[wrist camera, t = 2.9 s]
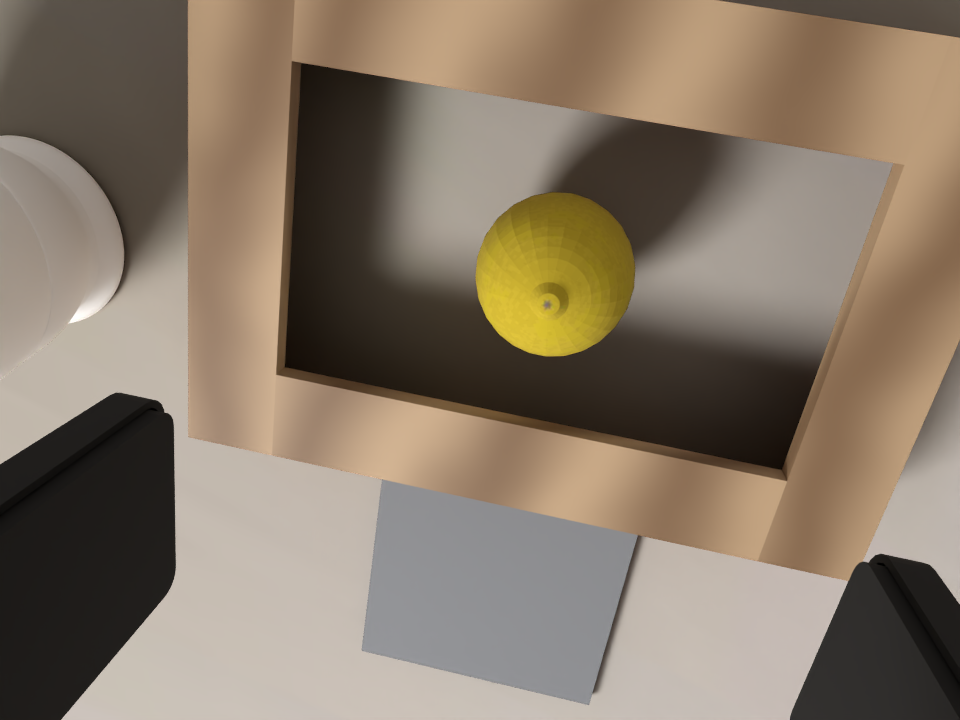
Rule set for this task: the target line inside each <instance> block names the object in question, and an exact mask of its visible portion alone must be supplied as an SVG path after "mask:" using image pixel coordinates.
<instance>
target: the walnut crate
mask: <svg viewBox="0 0 960 720" xmlns="http://www.w3.org/2000/svg"><path fill="white" fill-rule="evenodd" d="M301 63H306V64H312V65H318V66H324V67H330V68H336V69H342V70H347V71H353V72H359V73H365V74H371V75H377V76H383V77H389V78H395V79H400V80H406V81H412V82H418V83H424V84H430V85H436V86H442V87H448V88H454V89H459V90H465V91H471V92H477V93H483V94H489V95H495V96H501V97H507V98H513V99H518V100H524V101H530V102H536V103H542V104H548V105H554V106H560V107H566V108H571V109H577V110H583V111H589V112H595V113H601V114H607V115H613V116H619V117H625V118H630V119H636V120H642V121H648V122H654V123H660V124H666V125H672V126H678V127H683V128H689V129H695V130H701V131H707V132H713V133H719V134H725V135H731V136H737V137H742V138H748V139H754V140H760V141H766V142H772V143H778V144H784V145H790V146H796V147H801V148H807V149H813V150H819V151H825V152H831V153H837V154H843V155H849V156H854V157H860V158H866V159H872V160H878V161H884V162H890V163H894V164H893V166H892V169H891V172H890V175H889V177H888V180H887V183H886V186H885V188H884V191H883V194H882V196H881V199H880V202H879V205H878V207H877V210H876V213H875V216H874V218H873V221H872V224H871V227H870V229H869V232H868V235H867V238H866V240H865V243H864V246H863V249H862V251H861V254H860V257H859V259H858V262H857V265H856V268H855V270H854V273H853V276H852V279H851V281H850V284H849V287H848V290H847V292H846V295H845V298H844V301H843V303H842V306H841V309H840V312H839V314H838V317H837V320H836V323H835V325H834V328H833V331H832V333H831V336H830V339H829V342H828V344H827V347H826V350H825V353H824V355H823V358H822V361H821V364H820V366H819V369H818V372H817V375H816V377H815V380H814V383H813V386H812V388H811V391H810V394H809V396H808V399H807V402H806V405H805V407H804V410H803V413H802V416H801V418H800V421H799V424H798V427H797V429H796V432H795V435H794V438H793V440H792V443H791V446H790V449H789V451H788V454H787V457H786V460H785V462H784V465H783V468H782V470H779V469H774V468H769V467H764V466H759V465H755V464H750V463H745V462H740V461H735V460H730V459H726V458H721V457H716V456H711V455H706V454H701V453H697V452H692V451H687V450H682V449H677V448H672V447H668V446H663V445H658V444H653V443H648V442H644V441H639V440H634V439H629V438H624V437H619V436H615V435H610V434H605V433H600V432H595V431H590V430H586V429H581V428H576V427H571V426H566V425H561V424H557V423H552V422H547V421H542V420H537V419H532V418H528V417H523V416H518V415H513V414H508V413H503V412H499V411H494V410H489V409H484V408H479V407H474V406H470V405H465V404H460V403H455V402H450V401H445V400H441V399H436V398H431V397H426V396H421V395H416V394H412V393H407V392H402V391H397V390H392V389H387V388H383V387H378V386H373V385H368V384H363V383H358V382H354V381H349V380H344V379H339V378H334V377H329V376H325V375H320V374H315V373H310V372H305V371H300V370H296V369H291V368H286V367H285V351H286V333H287V315H288V296H289V278H290V260H291V242H292V223H293V205H294V187H295V169H296V150H297V132H298V114H299V96H300V77H301ZM959 341H960V38H958V37H952V36H945V35H939V34H932V33H926V32H919V31H913V30H907V29H900V28H894V27H887V26H881V25H874V24H868V23H861V22H855V21H848V20H842V19H835V18H829V17H822V16H816V15H809V14H803V13H796V12H790V11H783V10H777V9H770V8H764V7H757V6H751V5H744V4H738V3H732V2H725V1H719V0H188V437H190V438H195V439H199V440H204V441H208V442H213V443H218V444H222V445H227V446H231V447H236V448H241V449H245V450H250V451H254V452H259V453H263V454H268V455H273V456H277V457H282V458H286V459H291V460H296V461H300V462H305V463H309V464H314V465H319V466H323V467H328V468H332V469H337V470H341V471H346V472H351V473H355V474H360V475H364V476H369V477H374V478H378V479H383V480H387V481H392V482H397V483H401V484H406V485H410V486H415V487H419V488H424V489H429V490H433V491H438V492H442V493H447V494H452V495H456V496H461V497H465V498H470V499H475V500H479V501H484V502H488V503H493V504H497V505H502V506H507V507H511V508H516V509H520V510H525V511H530V512H534V513H539V514H543V515H548V516H553V517H557V518H562V519H566V520H571V521H575V522H580V523H585V524H589V525H594V526H598V527H603V528H608V529H612V530H617V531H621V532H626V533H631V534H635V535H640V536H644V537H649V538H653V539H658V540H663V541H667V542H672V543H676V544H681V545H686V546H690V547H695V548H699V549H704V550H709V551H713V552H718V553H722V554H727V555H731V556H736V557H741V558H745V559H750V560H754V561H759V562H764V563H768V564H773V565H777V566H782V567H787V568H791V569H796V570H800V571H805V572H809V573H814V574H819V575H823V576H828V577H832V578H837V579H842V580H846V581H849V579H850V577H851V574H852V572H853V570H854V568H855V567H856V565H858V564H859V563H860V562H862V561H863V559H864V557H865V555H866V552H867V550H868V548H869V545H870V543H871V541H872V539H873V536H874V534H875V532H876V530H877V527H878V525H879V523H880V520H881V518H882V516H883V514H884V511H885V509H886V507H887V505H888V502H889V500H890V498H891V495H892V493H893V491H894V489H895V486H896V484H897V482H898V479H899V477H900V475H901V473H902V470H903V468H904V466H905V464H906V461H907V459H908V457H909V454H910V452H911V450H912V448H913V445H914V443H915V441H916V439H917V436H918V434H919V432H920V429H921V427H922V425H923V423H924V420H925V418H926V416H927V414H928V411H929V409H930V407H931V404H932V402H933V400H934V398H935V395H936V393H937V391H938V389H939V386H940V384H941V382H942V379H943V377H944V375H945V373H946V370H947V368H948V366H949V363H950V361H951V359H952V357H953V354H954V352H955V350H956V348H957V345H958V343H959Z"/></svg>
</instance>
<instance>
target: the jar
mask: <svg viewBox="0 0 960 720" xmlns="http://www.w3.org/2000/svg"><path fill="white" fill-rule="evenodd" d="M123 265H124V245H123V238H122V233H121V229H120V226H119V222H118V219H117V217H116V214H115V212H114V210H113V208H112V206H111V204H110V202H109V200H108V198H107V197H106V195H105V193H104V192H103V191H102V189H101V188H100V186H99V185H98V184H97V182H96V181H95V180H94V179H93V178H92V176H91V175H90V174H89V173H88V172H87V171H86V170H85V169H84V168H83V167H82V166H81V165H79V164H78V163H77V162H76V161H75V160H73V159H72V158H71V157H69V156H68V155H66V154H65V153H63V152H62V151H60V150H58V149H57V148H55V147H53V146H51V145H49V144H46V143H44V142H41V141H38V140H35V139H32V138H28V137H22V136H12V135H5V136H0V380H1V379H3V378H4V377H5V376H7V375H8V374H9V373H10V372H12V371H13V370H14V369H15V368H16V367H18V366H19V365H20V364H21V363H23V362H24V361H26V360H27V359H29V358H30V357H32V356H33V355H35V354H36V353H37V352H39V351H40V350H41V349H43V348H44V347H45V346H46V345H48V344H49V343H50V342H51V341H52V340H53V339H54V338H55V337H56V336H57V335H58V334H59V333H60V332H61V331H62V330H63V329H64V328H65V327H66V325H67V324H68V323H73V322H77V321H80V320H83V319H86V318H88V317H90V316H92V315H93V314H95V313H97V312H98V311H99V310H101V309H102V308H103V307H104V306H105V305H106V304H107V303H108V302H109V300H110V299H111V298H112V296H113V295H114V293H115V291H116V289H117V287H118V285H119V282H120V279H121V276H122V272H123Z"/></svg>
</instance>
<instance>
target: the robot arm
mask: <svg viewBox="0 0 960 720" xmlns="http://www.w3.org/2000/svg"><path fill="white" fill-rule="evenodd" d="M175 570H176V553H175V482H174V424H173V419H172V417H171V415H169V414H168V413H164V409H163V407H162V404H161V403H160V402H158V401H156V400H152V399H147V398H142V397H137V396H133V395H128V394H123V393H114V394H112V395H110V396H108V397H106V398H105V399H103V400H102V401H100V402H99V403H97V404H95V405H94V406H92V407H91V408H89V409H87V410H86V411H84V412H83V413H81V414H79V415H78V416H76V417H75V418H73V419H72V420H70V421H68V422H67V423H65V424H64V425H62V426H60V427H59V428H57V429H56V430H54V431H53V432H51V433H49V434H48V435H46V436H45V437H43V438H41V439H40V440H38V441H37V442H35V443H34V444H32V445H30V446H29V447H27V448H26V449H24V450H22V451H21V452H19V453H18V454H16V455H15V456H13V457H11V458H10V459H8V460H7V461H5V462H3V463H2V464H0V720H61V719H62V718H63V717H64V715H65V714H66V713H67V712H68V711H69V710H70V708H71V707H72V706H73V705H74V704H75V702H76V701H77V700H78V699H79V698H80V697H81V695H82V694H83V693H84V692H85V691H86V689H87V688H88V687H89V686H90V685H91V684H92V682H93V681H94V680H95V679H96V678H97V676H98V675H99V674H100V673H101V672H102V671H103V669H104V668H105V667H106V666H107V665H108V663H109V662H110V661H111V660H112V659H113V657H114V656H115V655H116V654H117V653H118V652H119V650H120V649H121V648H122V647H123V646H124V644H125V643H126V642H127V641H128V640H129V639H130V637H131V636H132V635H133V634H134V633H135V631H136V630H137V629H138V628H139V627H140V626H141V624H142V623H143V622H144V621H145V620H146V618H147V617H148V616H149V615H150V614H151V613H152V611H153V610H154V609H155V608H156V607H157V605H158V604H159V603H160V602H161V601H162V599H163V598H164V597H165V596H166V594H167V593H168V591H169V589H170V587H171V585H172V583H173V580H174V576H175ZM790 720H960V604H959V603H958V602H957V600H956V599H955V597H954V596H953V595H952V593H951V592H950V590H949V589H948V588H947V586H946V585H945V583H944V582H943V581H942V579H941V578H940V577H939V575H938V574H937V572H936V571H935V570H934V569H933V568H932V567H931V566H930V565H928V564H925V563H922V562H917V561H912V560H908V559H903V558H898V557H893V556H889V555H884V554H879V555H875V556H874V557H873V558H872V559H871V560H870V562H869V563H867V562H860V563H859V564H858V565H856V567H855V568H854V570H853V572H852V574H851V577H850V579H849V581H848V584H847V586H846V588H845V591H844V593H843V595H842V597H841V600H840V602H839V604H838V607H837V609H836V611H835V613H834V616H833V618H832V620H831V623H830V625H829V627H828V630H827V632H826V634H825V636H824V639H823V641H822V643H821V646H820V648H819V650H818V653H817V655H816V657H815V659H814V662H813V664H812V666H811V669H810V671H809V673H808V676H807V678H806V680H805V682H804V685H803V687H802V689H801V692H800V694H799V696H798V698H797V701H796V703H795V705H794V708H793V710H792V713H791V716H790Z"/></svg>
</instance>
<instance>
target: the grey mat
mask: <svg viewBox="0 0 960 720" xmlns="http://www.w3.org/2000/svg"><path fill="white" fill-rule="evenodd" d="M637 536H638V535H635V534H631V533H626V532H621V531H617V530H612V529H608V528H603V527H598V526H594V525H589V524H585V523H580V522H575V521H571V520H566V519H562V518H557V517H553V516H548V515H543V514H539V513H534V512H530V511H525V510H520V509H516V508H511V507H507V506H502V505H497V504H493V503H488V502H484V501H479V500H475V499H470V498H465V497H461V496H456V495H452V494H447V493H442V492H438V491H433V490H429V489H424V488H419V487H415V486H410V485H406V484H401V483H397V482H392V481H387V480H383V479H382V485H381V493H380V501H379V510H378V518H377V527H376V535H375V543H374V552H373V560H372V569H371V577H370V585H369V594H368V602H367V611H366V619H365V627H364V636H363V644H362V651H365V652H369V653H373V654H377V655H382V656H386V657H390V658H394V659H398V660H402V661H407V662H411V663H415V664H419V665H423V666H428V667H432V668H436V669H440V670H444V671H448V672H453V673H457V674H461V675H465V676H469V677H474V678H478V679H482V680H486V681H490V682H494V683H499V684H503V685H507V686H511V687H515V688H520V689H524V690H528V691H532V692H536V693H540V694H545V695H549V696H553V697H557V698H561V699H566V700H570V701H574V702H578V703H582V704H586V705H589V703H590V699H591V696H592V692H593V689H594V686H595V682H596V679H597V675H598V672H599V668H600V665H601V661H602V658H603V654H604V651H605V647H606V644H607V640H608V637H609V633H610V630H611V626H612V623H613V619H614V616H615V613H616V609H617V606H618V602H619V599H620V595H621V592H622V588H623V585H624V581H625V578H626V574H627V571H628V567H629V564H630V560H631V557H632V553H633V550H634V547H635V543H636V540H637Z"/></svg>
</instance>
